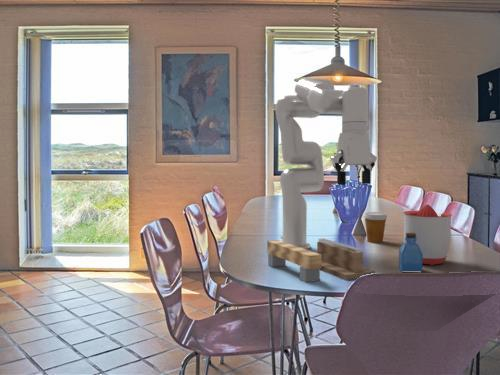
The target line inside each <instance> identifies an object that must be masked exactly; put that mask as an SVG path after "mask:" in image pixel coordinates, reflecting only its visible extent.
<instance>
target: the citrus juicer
mask: <svg viewBox="0 0 500 375" xmlns="http://www.w3.org/2000/svg"><path fill="white" fill-rule="evenodd" d="M403 214H404V215H403V216H404V217H403V219H404V220H403V221H404V222H403V243H406V240H405V237H406V233H416V238H417V240H416V242H415V243H417V244H418V246H419V248H420V250H421V252H422V254H423V256H422V265H423V264H424V265H428V264H429V265H428V266H434V265H441V264H444V263H445V261H446V259H447V257H448V256H447V255H448V253H449V251H450V247H451V235H452V234H451V230H452V229H451V228H452V227H451V226H452V216H453V214H452V213H450V212H443V213H441V214H440V215H439V216H438V214H437V211H435V209H434V208H433V207H432V206H431V205H430V204H425V205H424V206H423V207H421V209H420V210H406V211H405V210H404V211H403Z"/></svg>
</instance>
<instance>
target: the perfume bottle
mask: <svg viewBox="0 0 500 375" xmlns="http://www.w3.org/2000/svg"><path fill="white" fill-rule="evenodd" d="M405 240H406V243H404V242H402V244H401V246H400V247H399V249H398V269H399V271H400V272H401V271H422V272H423V264H422V256H423V254H422V252H421V250H420V248H419V246H418V244H417V243H415V242H416V240H417V238H416V233H406V237H405Z"/></svg>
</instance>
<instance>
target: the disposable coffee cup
mask: <svg viewBox="0 0 500 375" xmlns="http://www.w3.org/2000/svg"><path fill="white" fill-rule="evenodd" d="M363 217H364V223H365V229H366V230H365V232H366V239H367V240H366V241H367V242H368V243H373V244H380V243H383V242H384V235H385V229H386V222H387V218H388V216H387V213H385V212H378V211H376V212H375V211H374V212H373V211H372V212H371V211H369V212H365V214H364V216H363Z"/></svg>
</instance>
